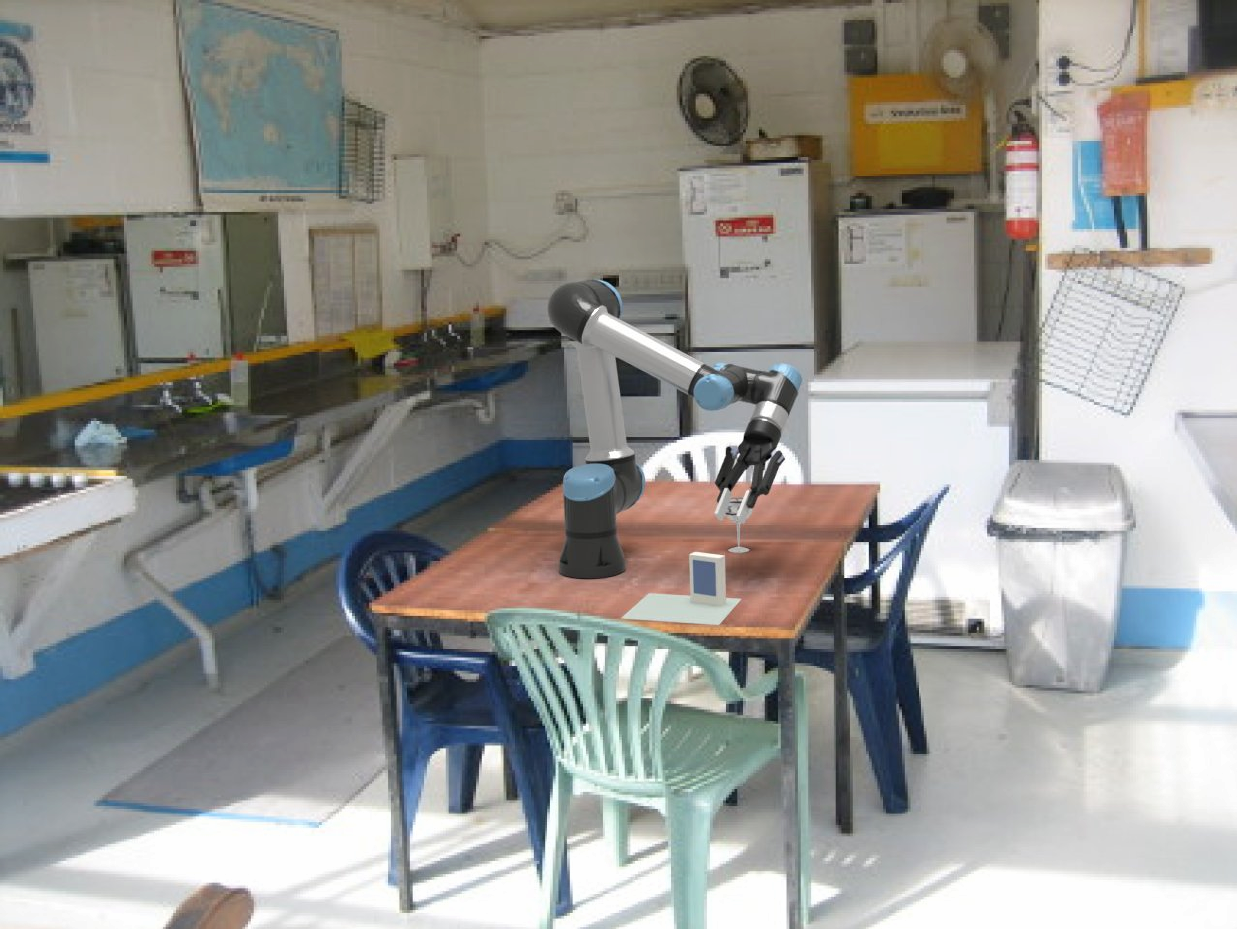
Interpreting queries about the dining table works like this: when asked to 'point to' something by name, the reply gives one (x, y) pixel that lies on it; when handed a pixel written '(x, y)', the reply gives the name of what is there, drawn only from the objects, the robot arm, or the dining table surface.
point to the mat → (679, 610)
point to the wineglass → (736, 521)
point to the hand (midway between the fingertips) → (729, 518)
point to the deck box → (707, 578)
